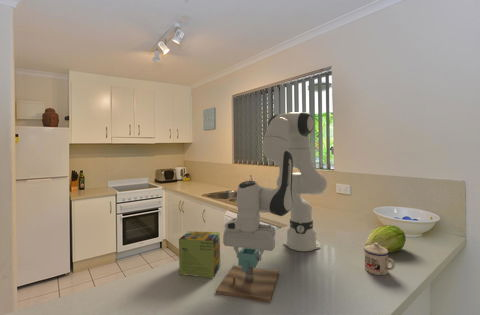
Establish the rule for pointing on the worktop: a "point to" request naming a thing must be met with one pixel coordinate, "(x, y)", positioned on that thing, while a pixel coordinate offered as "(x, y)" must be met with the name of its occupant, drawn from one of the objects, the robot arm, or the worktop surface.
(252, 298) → the post board
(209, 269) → the protein box
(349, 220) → the worktop surface
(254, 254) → the teal open cubby box
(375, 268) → the teacup with lid
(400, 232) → the lettuce
